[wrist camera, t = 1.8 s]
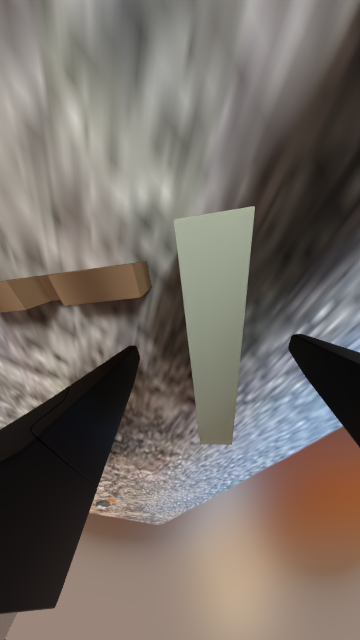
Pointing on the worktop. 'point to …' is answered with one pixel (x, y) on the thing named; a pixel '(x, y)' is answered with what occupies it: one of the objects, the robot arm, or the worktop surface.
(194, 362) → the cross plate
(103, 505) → the key chain
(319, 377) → the robot arm
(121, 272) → the walnut rail
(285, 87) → the worktop surface
